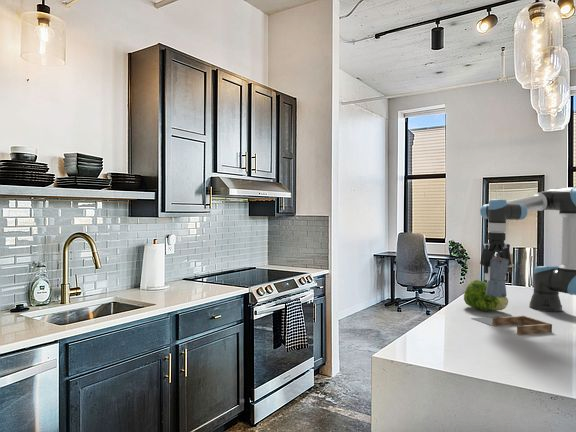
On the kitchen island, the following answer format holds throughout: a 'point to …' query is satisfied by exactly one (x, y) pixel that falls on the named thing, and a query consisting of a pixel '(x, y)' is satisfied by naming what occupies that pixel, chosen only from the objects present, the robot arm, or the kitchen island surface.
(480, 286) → the lettuce
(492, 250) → the robot arm
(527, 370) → the kitchen island surface
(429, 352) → the kitchen island surface
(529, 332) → the brown wooden frame
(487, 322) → the mat
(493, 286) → the moka pot
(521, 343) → the kitchen island surface
